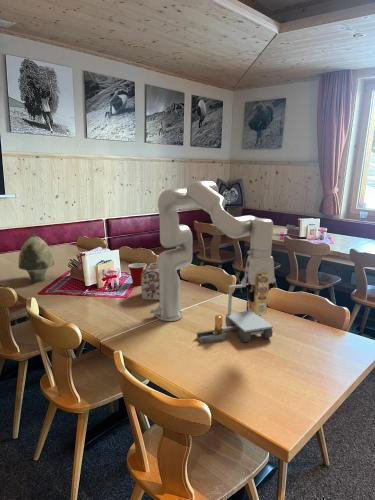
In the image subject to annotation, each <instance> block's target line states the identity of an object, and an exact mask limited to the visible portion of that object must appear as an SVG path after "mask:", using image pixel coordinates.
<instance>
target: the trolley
mask: <svg viewBox="0 0 375 500" xmlns="http://www.w3.org/2000/svg"><path fill="white" fill-rule="evenodd" d="M239 288H240V289H241V288H246V287H245V286H243V285H242V284H241V283H240V284H232V285H229V286H228V304H227V313H225V325H226V326H225V327H229V326H235V325H236V326H237V328H238V329H237V330H238V334H237V335H238V338H239V340H240V342H242V343H246V342H250V341H251V340H252V335H258V334H260V336H261V337H262V339H264V340H266V339H269V338H270V339H271V338H272V336H273V328H274V326H273V325H272V324H270V323H269V322H268V321H267V320H266V319H264V318H263V317H261V316H259V315H256V314H255V313H254V312H253V311H252V310H251V309H250V308H249V307H248V311H246V310H244V311H238V312H232V300H233V299H232V298H233V289H239Z"/></svg>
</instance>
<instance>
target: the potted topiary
mask: <svg viewBox="0 0 375 500" xmlns="http://www.w3.org/2000/svg"><path fill="white" fill-rule="evenodd" d="M31 233H32V236H29V238H27V239H26V240H25V242H24V243H23V244H22V246H21V248H20V252H19V256H18V269H20V270H22V271H26V272H27V274H28V275H29V279H30V282H32V283H39V282H43V281H45V280H46V273H47V271H48V269H49V268H51V267H53V266H55V262H54V257H53V253H52V251H51V248H50V247H49V245H48V243H47V242H46V241H45V240H43V238H41V237H39V236H38V235H36V234H35V231H31Z"/></svg>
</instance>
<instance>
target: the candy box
mask: <svg viewBox="0 0 375 500" xmlns="http://www.w3.org/2000/svg"><path fill="white" fill-rule="evenodd" d="M268 280H269V275H268V274H260V275H257V285H255V287H254V290H253V292H254V302H251V301H250V300H248V307H249V308H250V309H251V310H252V311H253V312H254V313H255V314H256V315H261V316H262V315H264V316H265V315H266V314H267V305H268V294H269V290H268Z"/></svg>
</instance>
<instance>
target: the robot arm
mask: <svg viewBox="0 0 375 500" xmlns="http://www.w3.org/2000/svg"><path fill="white" fill-rule="evenodd" d="M219 191H220V190H219V186H218V185H217V184H216V183H215V182H214V181H212V180H196V181H192V182H191V183H189V184H188V185H187V186H186V187H173V188H169V189H165V190H164V191H162V192H161V193H160V194H159V197H158V200H157V208H158V214H159V215H158V216H159V241H160V242H159V243H160V244H161V246H162V247H163V248H166V249H168V250H165V251H163V252H161V253H159V254H158V256H157V258H156V263H157V265H158V270H159V300H158V301H159V302H158V303H159V304H158V305H157V307H156V308H152V309H149V310H148V311H149V314H153V316H156V318H157V319H158V320H160V321H164V322H175V321H178V320H180V319H182V318H183V316H184V313H183V312H182V311H181V309H180V308H181V307H180V306H181V303H180V302H181V301H180V300H181V298H180V297H181V296H180V295H181V279H180V276H179V274H178V271H177V270H181V269H184V268H186V267H188V266H190V265H191V263H192V261H193V239H194V238H193V232H192V231H191V228H190V227H189V226H188V225H186V224H182V223H181V224H180V217H179V214H178V211H177V210H176V209H180V208H181V209H182V208H192V207H196V206H197V207H199V208H201V209H202V210H203V211H204V212H206V213H208V214H209V215H210V219H211V221H212V223H213V225H214V226H215V227H216V228H217V229H218V230H219V231H220V232H222V233H223V234H224V235H226V236H227V237H228V238H231V239H239V238H244V237H249V236H250V248H249V250H247V252H246V253H247V255H248V256H247V259H246V265H245V270H244V276H243V278H242V280H241V281H240V284H242V285H243V286H245V287H244V288H245V289H246V291H247V293H248V300H250V301H251V302H254V292H253V290H254V287H255V285H257V275H260V274H268V275H269V280H268V291H269V290H270V288H271V286H272V285H273V284H274V283H275V282H276V281H277V279H276V277H275V260H274V257H273V256H272V247H273V245H272V244H273V235H274V234H273V233H274V221H273V220H272V219H270V218H262V217H257V216H254V215H249V214H248V215H241V216H234V215H231V214H230V213H229V212H228V211H226V210H225V206H226V199H225V197H224V196H223V195H221V194H220V193H219ZM173 248H174V249H173Z"/></svg>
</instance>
